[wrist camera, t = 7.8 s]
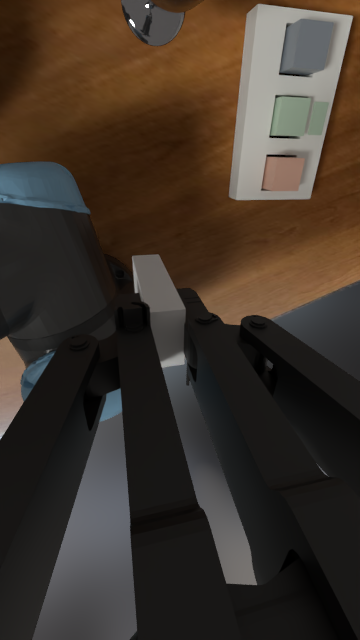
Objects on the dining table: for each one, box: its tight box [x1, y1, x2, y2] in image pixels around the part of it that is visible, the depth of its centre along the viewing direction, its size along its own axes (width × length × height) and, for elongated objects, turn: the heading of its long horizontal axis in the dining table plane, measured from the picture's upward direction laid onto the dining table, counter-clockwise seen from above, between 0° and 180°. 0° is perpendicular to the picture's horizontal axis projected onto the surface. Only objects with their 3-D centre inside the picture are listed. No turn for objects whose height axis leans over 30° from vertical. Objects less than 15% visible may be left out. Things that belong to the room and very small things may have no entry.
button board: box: [229, 4, 353, 200], centre depth 39 cm, size 20×12×3 cm, turn 179°
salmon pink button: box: [262, 157, 305, 191], centre depth 41 cm, size 4×4×3 cm
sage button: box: [269, 96, 311, 136], centre depth 38 cm, size 4×4×3 cm
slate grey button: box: [279, 19, 334, 75], centre depth 34 cm, size 4×4×3 cm
